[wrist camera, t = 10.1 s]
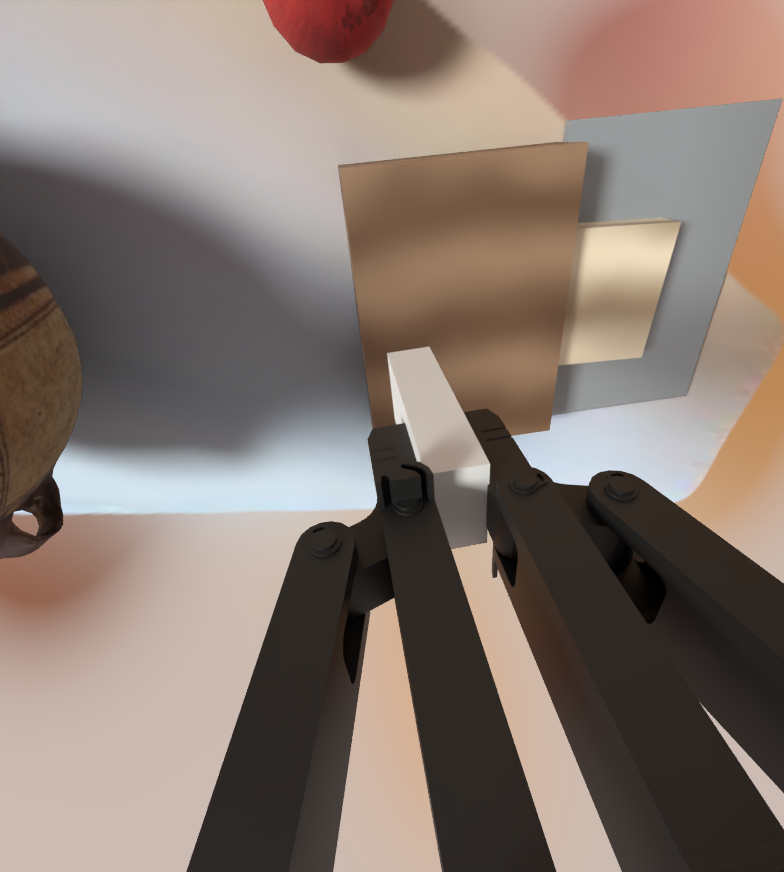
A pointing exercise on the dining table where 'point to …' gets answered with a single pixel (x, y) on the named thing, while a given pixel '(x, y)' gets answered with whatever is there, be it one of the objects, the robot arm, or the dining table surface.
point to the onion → (329, 26)
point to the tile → (615, 287)
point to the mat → (696, 241)
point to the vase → (32, 400)
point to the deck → (467, 271)
